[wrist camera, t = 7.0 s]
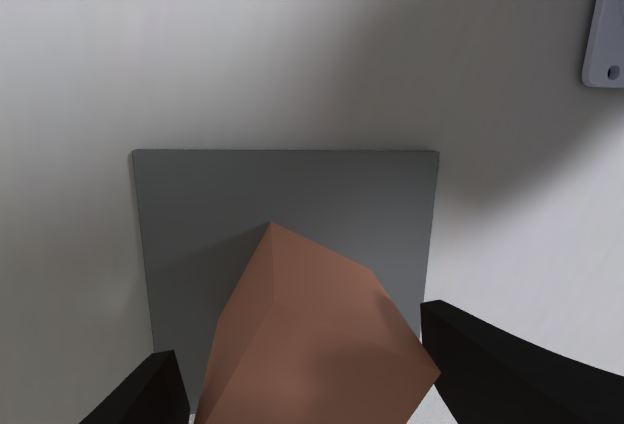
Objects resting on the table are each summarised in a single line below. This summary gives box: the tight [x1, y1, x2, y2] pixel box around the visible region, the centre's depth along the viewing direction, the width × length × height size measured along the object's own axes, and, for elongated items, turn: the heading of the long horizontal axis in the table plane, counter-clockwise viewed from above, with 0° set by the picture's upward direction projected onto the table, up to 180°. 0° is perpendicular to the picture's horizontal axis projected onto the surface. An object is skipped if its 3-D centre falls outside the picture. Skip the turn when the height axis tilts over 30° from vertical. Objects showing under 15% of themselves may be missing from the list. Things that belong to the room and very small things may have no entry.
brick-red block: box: [194, 221, 441, 424], centre depth 11 cm, size 4×4×6 cm
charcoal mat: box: [132, 149, 439, 414], centre depth 14 cm, size 11×11×1 cm
